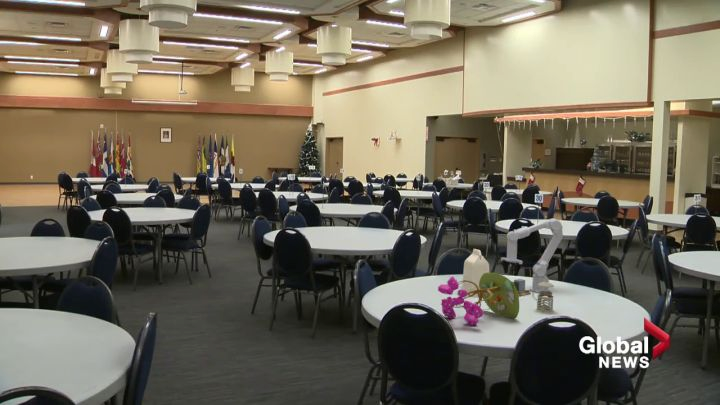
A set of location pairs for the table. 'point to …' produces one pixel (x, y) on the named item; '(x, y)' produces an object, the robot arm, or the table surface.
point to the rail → (523, 292)
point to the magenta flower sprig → (492, 290)
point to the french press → (544, 298)
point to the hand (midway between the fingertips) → (511, 274)
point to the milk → (474, 271)
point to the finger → (519, 284)
